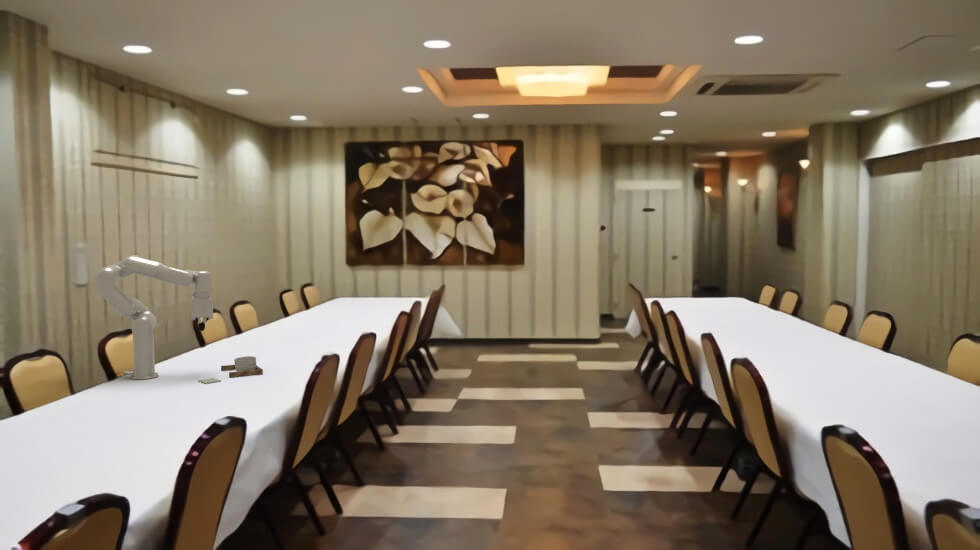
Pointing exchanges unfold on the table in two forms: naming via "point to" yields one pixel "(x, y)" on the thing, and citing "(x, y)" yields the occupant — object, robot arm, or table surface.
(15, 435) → the table surface
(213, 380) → the coaster
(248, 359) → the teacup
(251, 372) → the bay
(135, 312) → the robot arm
